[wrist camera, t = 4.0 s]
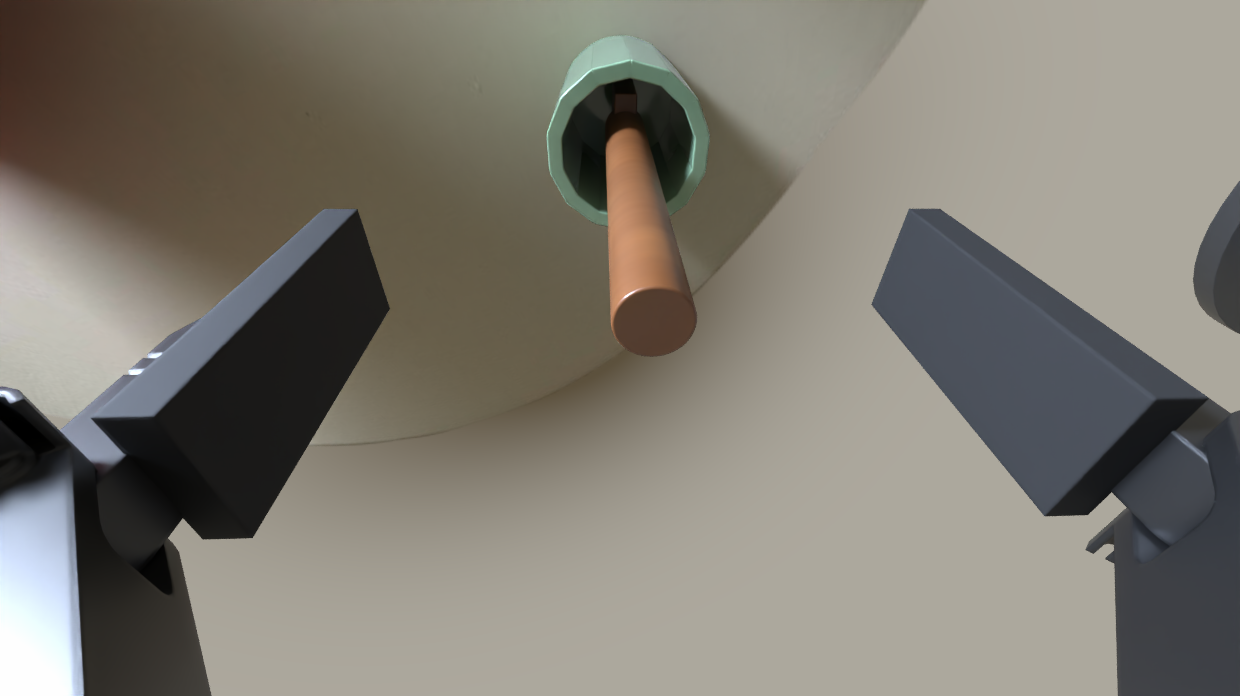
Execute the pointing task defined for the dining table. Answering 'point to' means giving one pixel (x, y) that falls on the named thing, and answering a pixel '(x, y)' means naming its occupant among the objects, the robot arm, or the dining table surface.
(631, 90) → the stick
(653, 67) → the crock
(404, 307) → the dining table surface
